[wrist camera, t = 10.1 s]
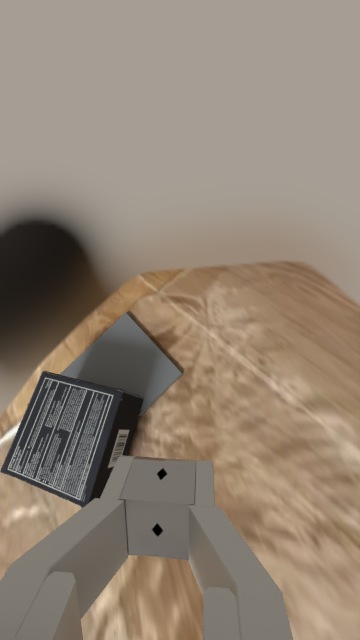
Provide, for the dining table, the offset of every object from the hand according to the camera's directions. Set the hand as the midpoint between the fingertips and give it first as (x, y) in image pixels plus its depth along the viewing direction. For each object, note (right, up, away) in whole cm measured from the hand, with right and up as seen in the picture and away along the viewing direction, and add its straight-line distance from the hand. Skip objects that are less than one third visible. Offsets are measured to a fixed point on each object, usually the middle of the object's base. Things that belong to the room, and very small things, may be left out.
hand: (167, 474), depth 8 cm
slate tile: (-10, -4, +26) cm, 28 cm away
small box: (-5, -8, +19) cm, 21 cm away
